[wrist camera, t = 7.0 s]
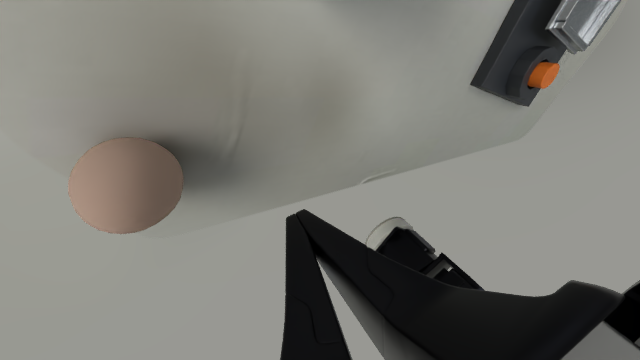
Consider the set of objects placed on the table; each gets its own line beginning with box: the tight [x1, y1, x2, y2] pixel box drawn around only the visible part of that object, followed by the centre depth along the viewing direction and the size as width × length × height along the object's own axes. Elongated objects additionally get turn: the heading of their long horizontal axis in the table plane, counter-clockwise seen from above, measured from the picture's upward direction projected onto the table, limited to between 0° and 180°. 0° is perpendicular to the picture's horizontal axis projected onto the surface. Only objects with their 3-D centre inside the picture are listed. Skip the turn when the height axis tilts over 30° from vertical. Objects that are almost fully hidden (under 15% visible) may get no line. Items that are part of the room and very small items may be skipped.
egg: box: [68, 137, 184, 234], centre depth 13 cm, size 5×5×7 cm
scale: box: [471, 0, 566, 106], centre depth 25 cm, size 15×13×3 cm
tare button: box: [528, 62, 559, 89], centre depth 26 cm, size 3×3×2 cm
